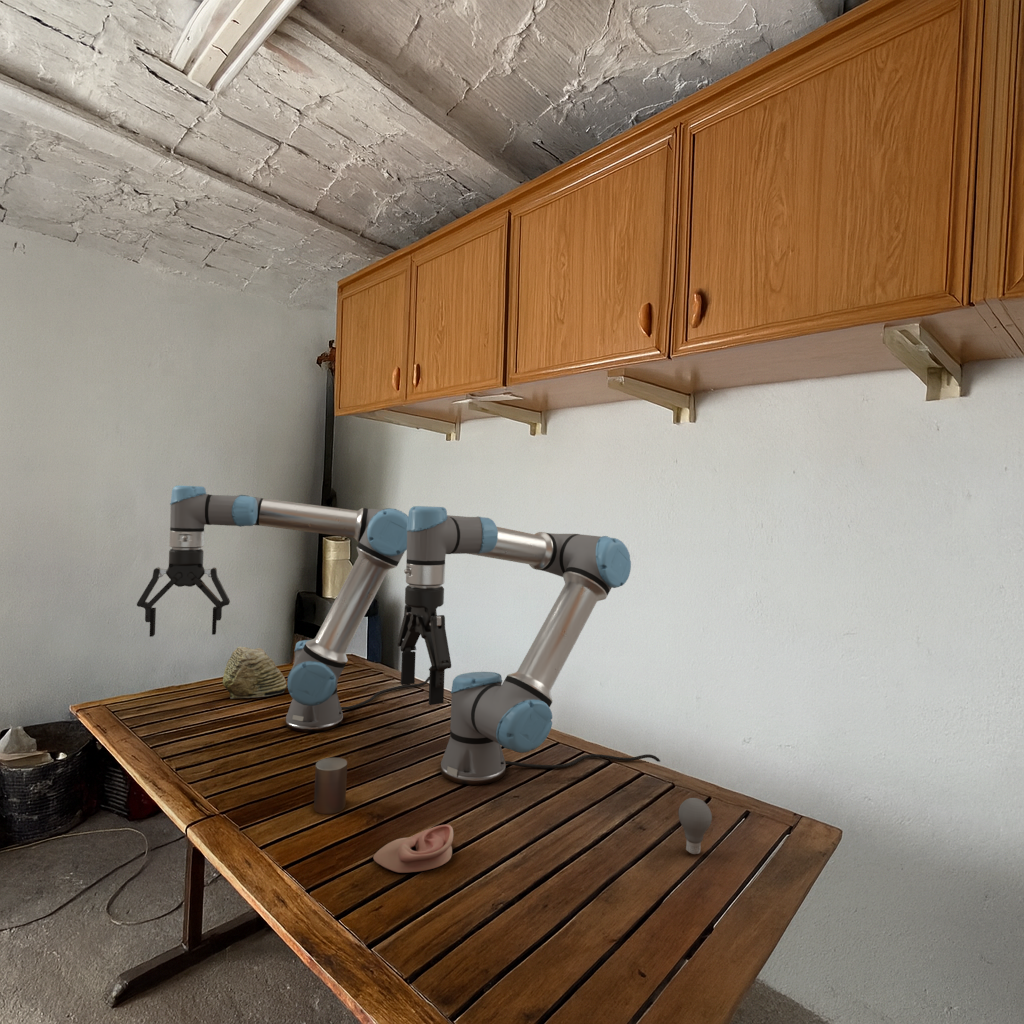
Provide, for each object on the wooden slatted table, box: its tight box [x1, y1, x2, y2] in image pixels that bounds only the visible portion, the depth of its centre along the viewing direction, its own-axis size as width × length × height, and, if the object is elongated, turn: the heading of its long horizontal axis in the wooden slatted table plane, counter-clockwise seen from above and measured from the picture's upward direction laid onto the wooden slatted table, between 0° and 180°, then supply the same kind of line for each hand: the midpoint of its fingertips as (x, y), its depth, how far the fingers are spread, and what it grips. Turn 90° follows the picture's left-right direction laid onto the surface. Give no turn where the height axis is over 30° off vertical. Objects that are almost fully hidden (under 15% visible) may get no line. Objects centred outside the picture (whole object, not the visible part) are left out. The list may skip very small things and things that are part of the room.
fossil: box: [222, 646, 288, 699], centre depth 198 cm, size 9×18×15 cm, turn 132°
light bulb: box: [677, 797, 713, 855], centre depth 118 cm, size 6×6×10 cm
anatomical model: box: [372, 824, 455, 874], centre depth 113 cm, size 13×4×12 cm
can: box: [313, 757, 348, 815], centre depth 130 cm, size 6×6×9 cm
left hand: (183, 634), depth 156 cm, fingers open, 13 cm apart
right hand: (421, 693), depth 124 cm, fingers open, 13 cm apart
